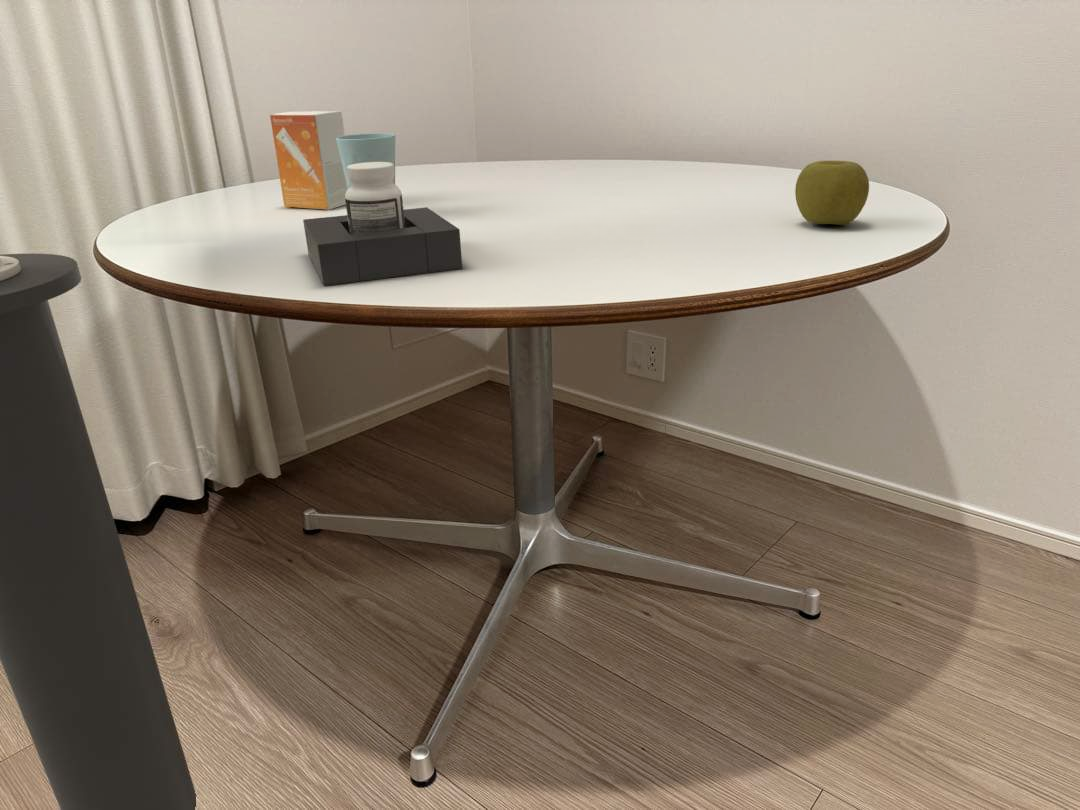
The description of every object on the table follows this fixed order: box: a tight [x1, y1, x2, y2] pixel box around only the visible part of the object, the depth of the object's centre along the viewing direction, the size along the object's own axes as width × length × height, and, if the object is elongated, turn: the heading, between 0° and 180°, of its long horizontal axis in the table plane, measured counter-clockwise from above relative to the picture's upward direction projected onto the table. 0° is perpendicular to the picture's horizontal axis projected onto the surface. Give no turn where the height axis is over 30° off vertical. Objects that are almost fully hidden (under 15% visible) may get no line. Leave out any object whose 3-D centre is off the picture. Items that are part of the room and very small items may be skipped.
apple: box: [794, 160, 870, 226], centre depth 91 cm, size 8×8×7 cm
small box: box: [269, 110, 348, 211], centre depth 114 cm, size 8×6×13 cm
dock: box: [302, 206, 463, 287], centre depth 83 cm, size 14×14×4 cm
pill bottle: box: [345, 162, 405, 234], centre depth 81 cm, size 6×6×10 cm
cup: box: [336, 132, 396, 189], centre depth 106 cm, size 8×8×10 cm
